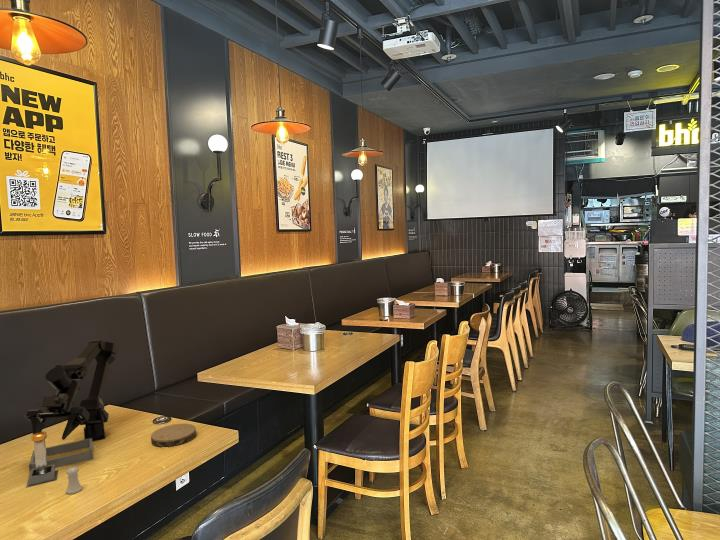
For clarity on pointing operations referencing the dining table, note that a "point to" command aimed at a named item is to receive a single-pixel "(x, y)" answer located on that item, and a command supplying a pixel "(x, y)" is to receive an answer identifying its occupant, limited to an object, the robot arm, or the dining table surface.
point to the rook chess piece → (73, 481)
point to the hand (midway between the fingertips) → (48, 440)
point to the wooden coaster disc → (173, 435)
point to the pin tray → (69, 458)
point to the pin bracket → (42, 476)
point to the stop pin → (40, 452)
